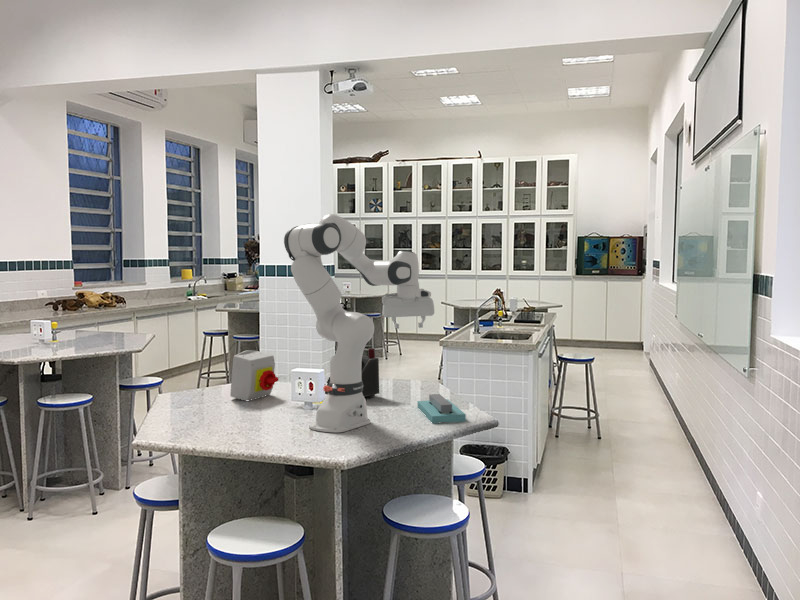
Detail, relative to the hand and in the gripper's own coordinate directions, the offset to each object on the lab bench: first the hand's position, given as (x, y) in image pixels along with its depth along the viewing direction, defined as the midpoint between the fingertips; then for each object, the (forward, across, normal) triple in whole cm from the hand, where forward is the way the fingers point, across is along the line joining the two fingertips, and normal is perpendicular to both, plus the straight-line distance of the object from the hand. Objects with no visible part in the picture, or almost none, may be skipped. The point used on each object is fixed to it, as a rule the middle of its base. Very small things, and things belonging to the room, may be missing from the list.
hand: (408, 328), depth 249 cm
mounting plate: (+30, +8, -20) cm, 37 cm away
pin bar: (+30, +8, -20) cm, 37 cm away
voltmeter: (+30, -22, +17) cm, 41 cm away
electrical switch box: (+30, -61, +25) cm, 72 cm away
